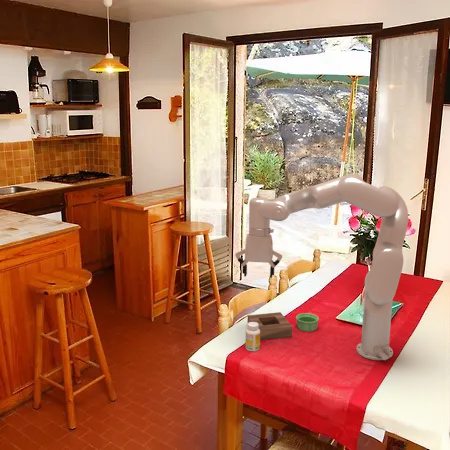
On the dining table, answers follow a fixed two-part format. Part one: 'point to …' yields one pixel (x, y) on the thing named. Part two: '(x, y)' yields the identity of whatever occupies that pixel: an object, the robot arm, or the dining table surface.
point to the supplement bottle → (253, 337)
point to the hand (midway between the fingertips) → (258, 276)
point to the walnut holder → (272, 325)
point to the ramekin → (307, 322)
